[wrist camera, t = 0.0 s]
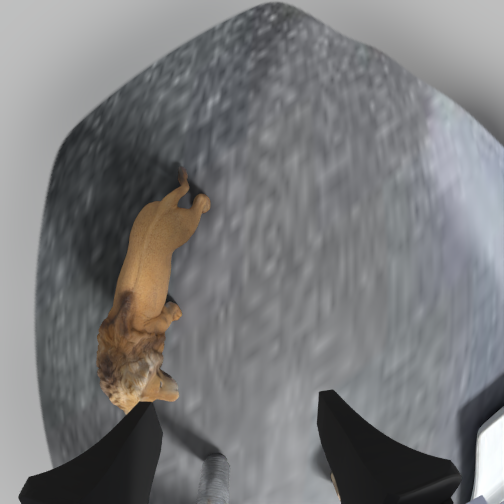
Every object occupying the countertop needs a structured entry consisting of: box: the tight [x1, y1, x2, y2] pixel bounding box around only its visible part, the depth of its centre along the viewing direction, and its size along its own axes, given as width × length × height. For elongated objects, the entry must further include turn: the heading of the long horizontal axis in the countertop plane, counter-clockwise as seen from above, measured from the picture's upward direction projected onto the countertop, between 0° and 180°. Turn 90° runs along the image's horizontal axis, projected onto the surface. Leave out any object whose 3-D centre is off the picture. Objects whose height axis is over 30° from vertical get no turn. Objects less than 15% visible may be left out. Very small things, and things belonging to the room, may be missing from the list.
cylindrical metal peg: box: [196, 453, 230, 504], centre depth 18 cm, size 2×2×10 cm
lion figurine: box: [96, 167, 210, 415], centre depth 18 cm, size 15×5×9 cm, turn 172°
